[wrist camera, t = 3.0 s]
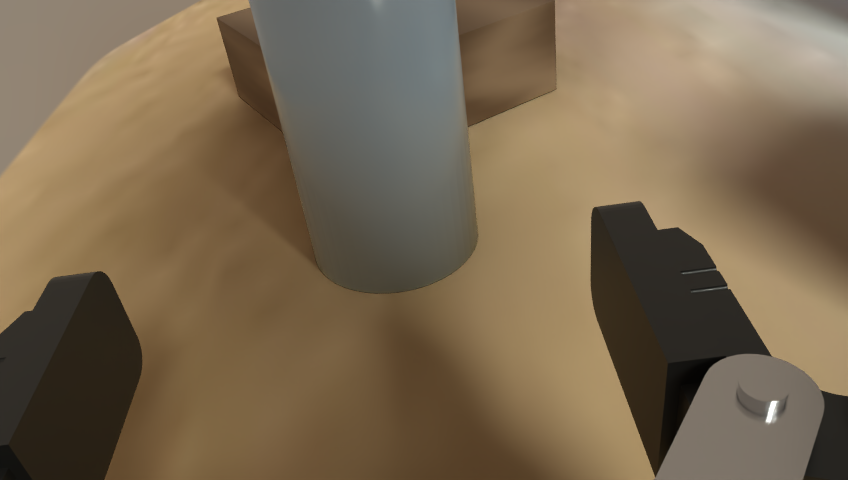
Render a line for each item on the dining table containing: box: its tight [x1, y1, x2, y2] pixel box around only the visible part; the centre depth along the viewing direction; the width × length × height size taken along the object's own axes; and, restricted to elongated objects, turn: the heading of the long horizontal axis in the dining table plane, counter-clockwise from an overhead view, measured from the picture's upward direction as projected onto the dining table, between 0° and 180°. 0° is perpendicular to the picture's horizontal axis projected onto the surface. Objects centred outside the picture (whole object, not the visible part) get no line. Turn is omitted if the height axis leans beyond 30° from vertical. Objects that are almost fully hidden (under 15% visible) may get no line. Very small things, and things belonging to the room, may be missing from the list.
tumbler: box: [249, 0, 478, 293], centre depth 22 cm, size 6×6×12 cm
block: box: [217, 0, 556, 132], centre depth 34 cm, size 11×11×4 cm
